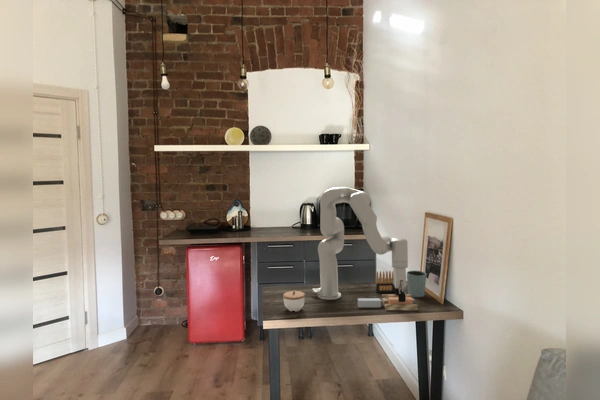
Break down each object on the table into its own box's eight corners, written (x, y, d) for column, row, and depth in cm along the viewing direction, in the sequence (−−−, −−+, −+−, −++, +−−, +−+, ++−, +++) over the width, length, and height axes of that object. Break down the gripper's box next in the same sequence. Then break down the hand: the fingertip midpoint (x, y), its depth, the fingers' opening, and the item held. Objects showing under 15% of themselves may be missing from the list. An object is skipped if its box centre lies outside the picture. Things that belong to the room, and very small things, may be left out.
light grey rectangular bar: (358, 307, 186) (358, 300, 186) (357, 305, 190) (357, 298, 190) (383, 307, 186) (383, 300, 185) (382, 305, 189) (382, 298, 189)
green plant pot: (406, 291, 209) (405, 270, 208) (425, 292, 207) (425, 270, 206) (407, 297, 199) (407, 275, 198) (427, 298, 197) (427, 275, 196)
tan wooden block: (389, 306, 183) (389, 299, 183) (388, 304, 187) (388, 297, 186) (415, 306, 182) (415, 299, 182) (413, 304, 185) (413, 297, 185)
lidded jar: (307, 306, 190) (306, 288, 190) (302, 313, 180) (302, 294, 179) (286, 305, 193) (286, 287, 192) (281, 312, 182) (280, 293, 182)
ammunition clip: (394, 291, 211) (394, 270, 210) (395, 292, 209) (395, 271, 208) (375, 291, 211) (375, 270, 210) (376, 292, 209) (375, 271, 208)
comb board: (385, 310, 182) (385, 305, 181) (381, 299, 198) (381, 294, 197) (417, 310, 180) (417, 305, 180) (410, 299, 196) (410, 294, 196)
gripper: (389, 260, 192) (389, 292, 193) (394, 268, 175) (395, 304, 176) (404, 259, 191) (404, 292, 192) (411, 268, 174) (411, 304, 175)
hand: (400, 298), depth 184 cm, fingers open, 9 cm apart
